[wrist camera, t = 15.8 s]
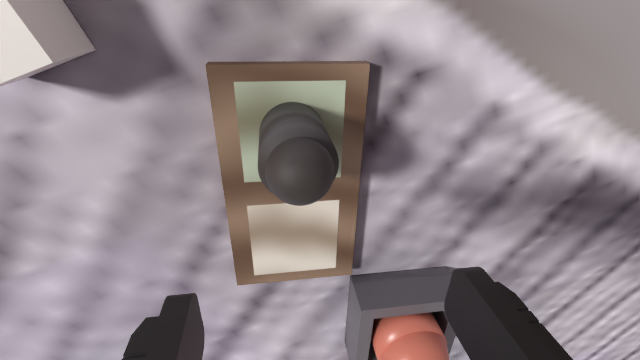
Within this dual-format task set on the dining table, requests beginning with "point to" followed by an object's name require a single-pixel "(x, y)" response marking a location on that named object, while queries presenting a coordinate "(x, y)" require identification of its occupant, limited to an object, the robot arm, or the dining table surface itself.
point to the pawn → (296, 154)
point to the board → (250, 193)
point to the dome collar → (393, 304)
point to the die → (37, 38)
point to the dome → (409, 338)
